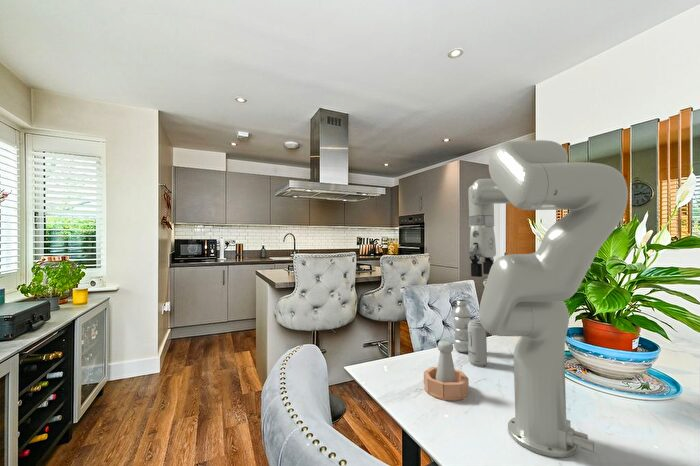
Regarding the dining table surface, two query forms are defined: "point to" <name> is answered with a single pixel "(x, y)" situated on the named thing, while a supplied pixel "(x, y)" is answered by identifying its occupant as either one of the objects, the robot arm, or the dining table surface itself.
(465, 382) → the octagonal orange bowl
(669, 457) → the dining table surface
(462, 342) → the plastic bottle
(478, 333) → the energy drink can
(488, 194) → the robot arm
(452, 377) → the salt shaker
